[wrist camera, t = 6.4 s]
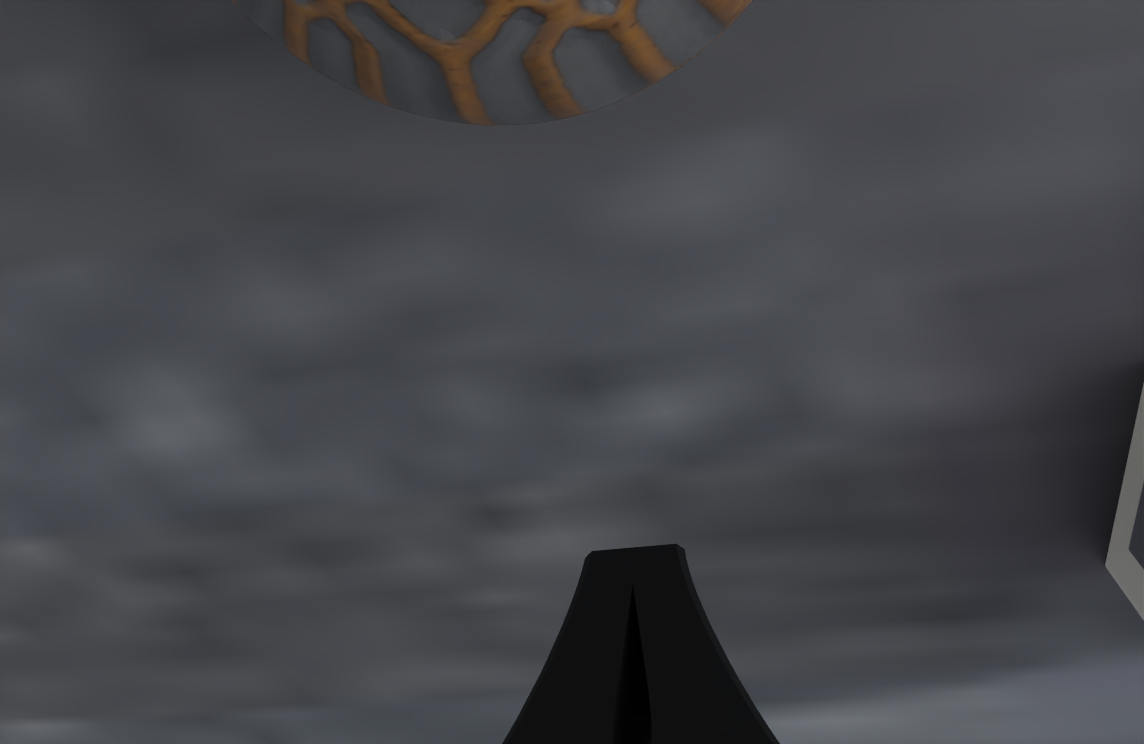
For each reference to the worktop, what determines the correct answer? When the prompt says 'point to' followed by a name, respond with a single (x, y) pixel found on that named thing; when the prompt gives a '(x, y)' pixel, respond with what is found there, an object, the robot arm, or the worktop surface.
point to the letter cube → (1130, 522)
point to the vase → (494, 50)
